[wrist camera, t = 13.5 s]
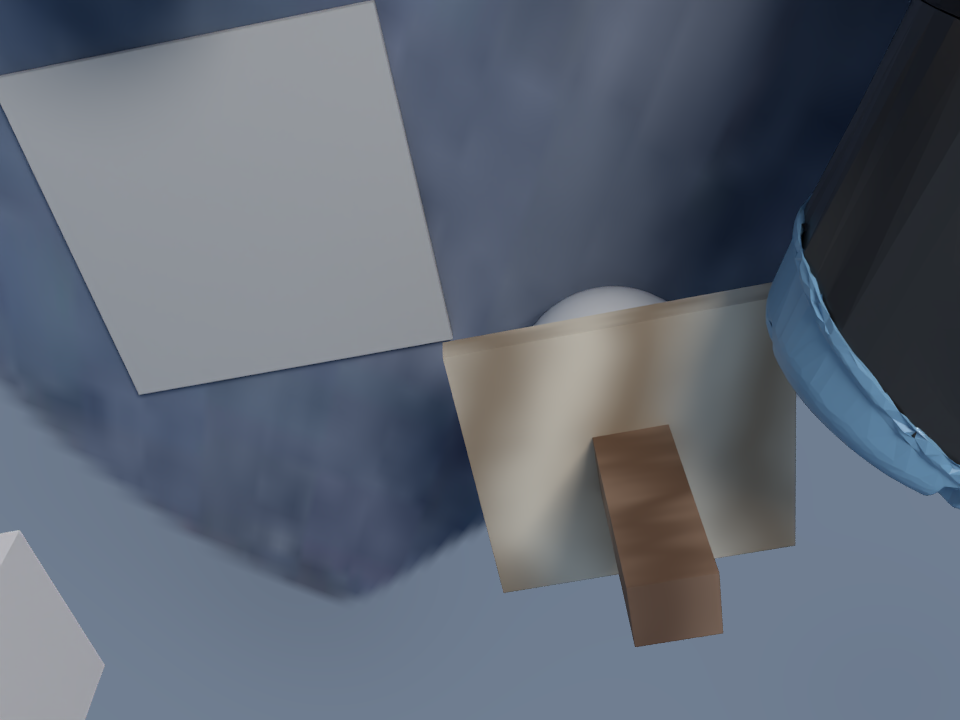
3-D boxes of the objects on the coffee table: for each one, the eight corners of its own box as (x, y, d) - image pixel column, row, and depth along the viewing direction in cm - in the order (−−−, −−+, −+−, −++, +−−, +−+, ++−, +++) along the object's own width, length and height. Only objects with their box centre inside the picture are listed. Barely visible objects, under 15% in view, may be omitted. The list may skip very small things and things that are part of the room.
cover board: (787, 279, 39) (883, 428, 31) (787, 528, 48) (863, 699, 39) (442, 342, 40) (445, 503, 32) (502, 575, 49) (516, 751, 40)
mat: (374, -1, 41) (373, 2, 41) (452, 334, 51) (452, 339, 51) (-7, 76, 43) (-11, 79, 42) (141, 389, 52) (139, 394, 52)
